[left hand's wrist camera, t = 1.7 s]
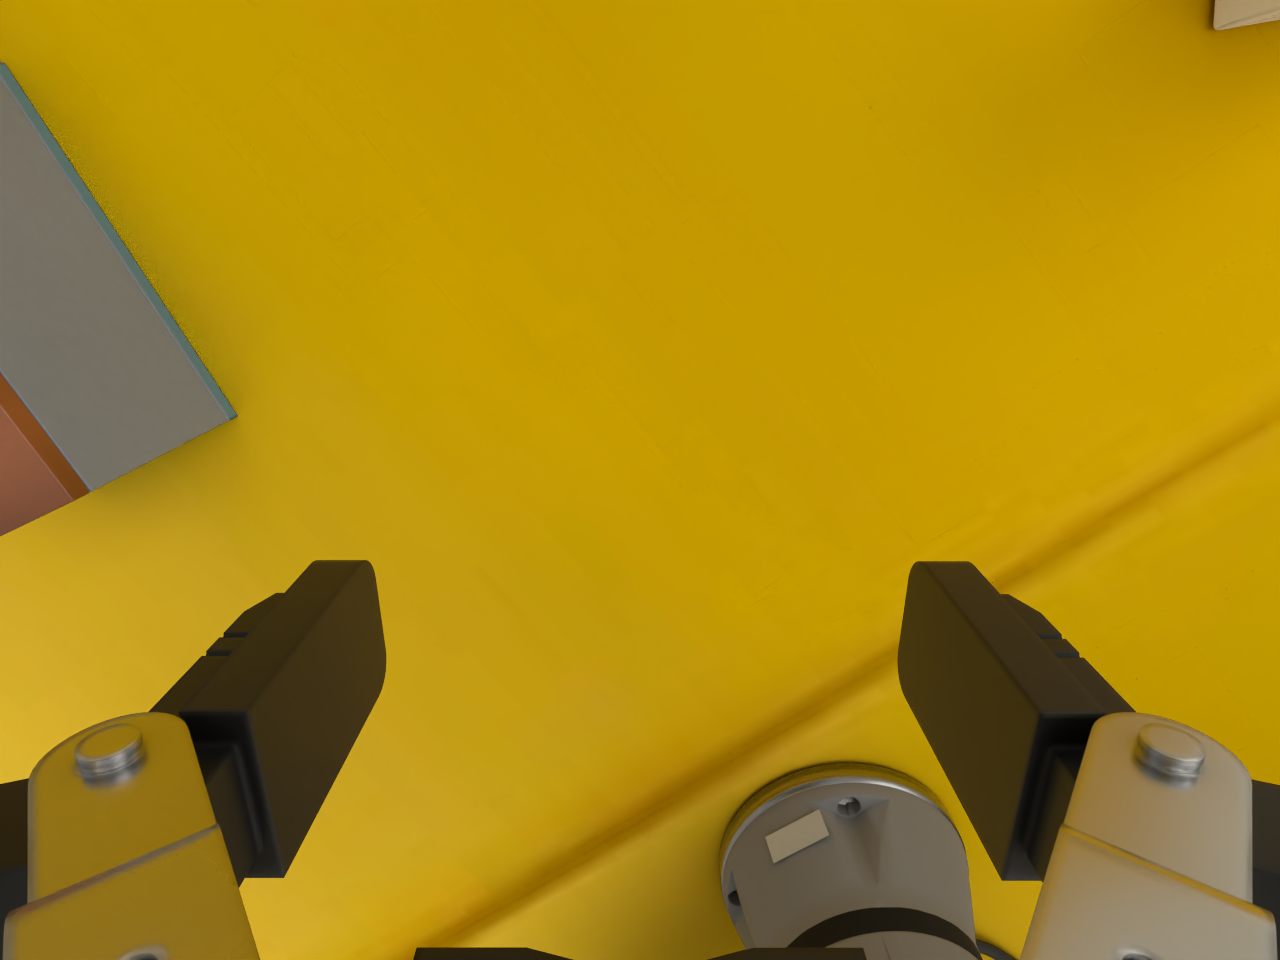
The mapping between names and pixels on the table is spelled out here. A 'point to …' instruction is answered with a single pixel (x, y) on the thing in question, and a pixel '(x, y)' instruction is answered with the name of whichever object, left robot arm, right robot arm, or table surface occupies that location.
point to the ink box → (1244, 12)
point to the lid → (30, 467)
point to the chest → (86, 317)
